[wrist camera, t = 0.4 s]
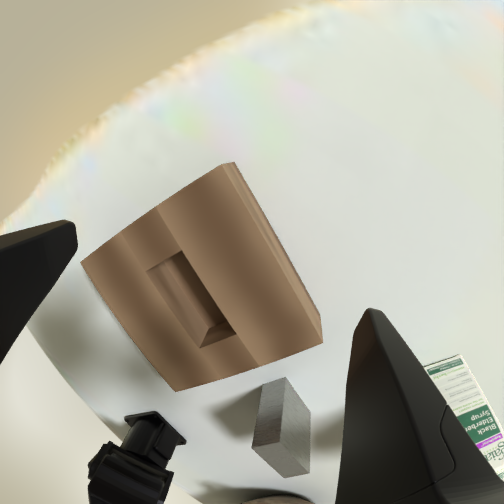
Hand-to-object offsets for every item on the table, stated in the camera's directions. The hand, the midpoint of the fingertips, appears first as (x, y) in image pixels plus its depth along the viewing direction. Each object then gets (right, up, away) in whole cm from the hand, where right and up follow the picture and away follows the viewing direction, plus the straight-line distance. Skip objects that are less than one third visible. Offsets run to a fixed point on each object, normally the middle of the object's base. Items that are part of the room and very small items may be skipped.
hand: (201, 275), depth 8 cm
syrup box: (+21, -13, +17) cm, 30 cm away
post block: (-2, -2, +17) cm, 17 cm away
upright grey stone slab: (+5, -14, +20) cm, 25 cm away
